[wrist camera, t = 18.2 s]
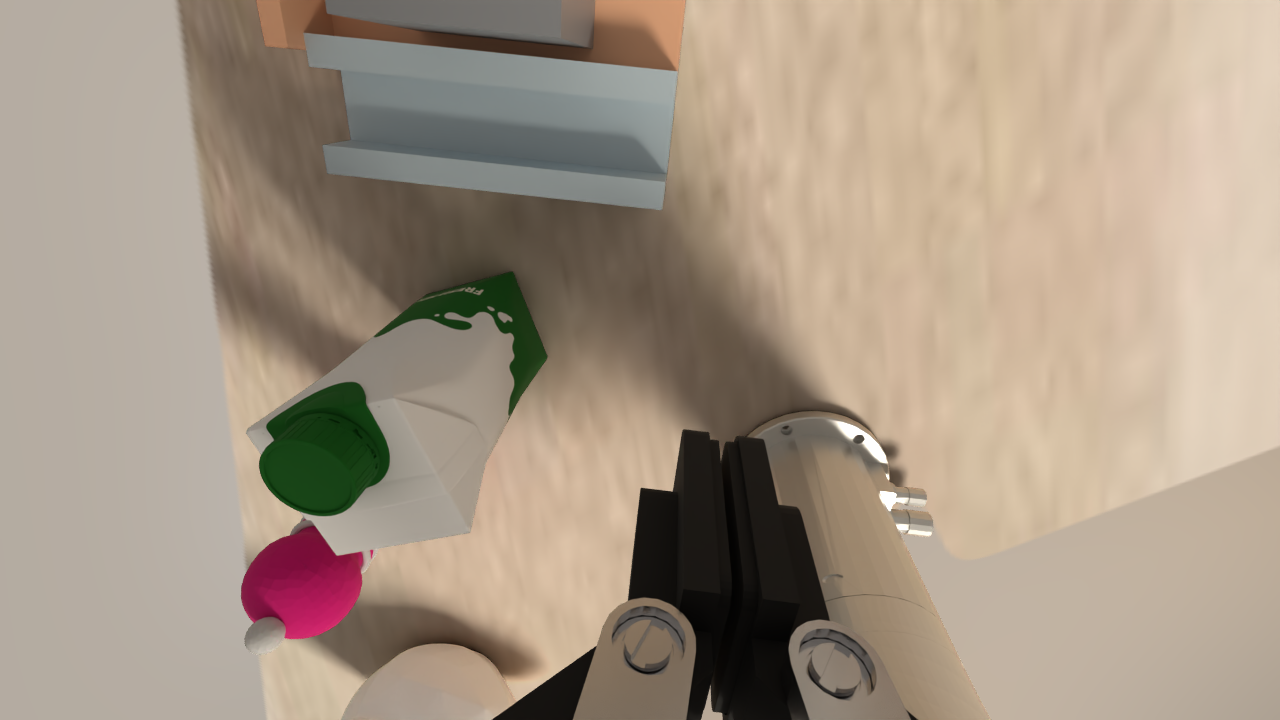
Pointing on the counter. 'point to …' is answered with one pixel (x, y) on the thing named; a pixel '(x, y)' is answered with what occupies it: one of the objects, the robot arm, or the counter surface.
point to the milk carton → (405, 420)
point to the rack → (501, 102)
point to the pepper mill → (299, 588)
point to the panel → (482, 18)
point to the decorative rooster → (432, 687)
